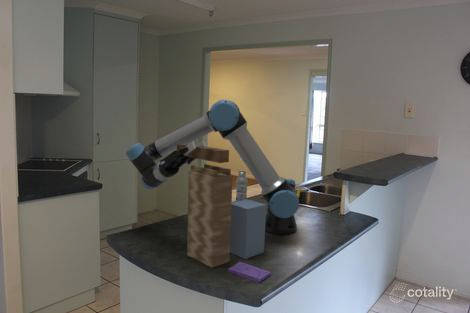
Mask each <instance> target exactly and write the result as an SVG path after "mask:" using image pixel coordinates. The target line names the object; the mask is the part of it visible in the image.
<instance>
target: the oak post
mask: <svg viewBox="0 0 470 313" xmlns="http://www.w3.org/2000/svg"><path fill="white" fill-rule="evenodd" d="M231 170H232V168H226V167H222V166H218V165H213V164H207V163H204V164H203V167H201V166H197V165H190V170H189V171H188V186H187V187H188V188H187V189H188V192H187V193H188V194H187V195H188V196H187V236H186V237H187V246H186V247H187V248H186V255H187V256H188V257H190V258H192V259H194V260H195V261H198V262H200V263H203V264H204V265H206V266H208V267H210V268H212V269H213V268H215V267H218V266H221V265H225V264H227V263H229V262H230V260H231V259H230V255H231V254H230V234H231V207H232V202H233V201H232V200H233V176H234V175H233V174H232V172H231Z"/></svg>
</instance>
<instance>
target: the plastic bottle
mask: <svg viewBox="0 0 470 313" xmlns="http://www.w3.org/2000/svg"><path fill="white" fill-rule="evenodd" d="M246 173H247V171H244V170H239V171H238V176H237V178H236V180H235V189H236V192H235V201H234V202H236V201H241V200H245V199H248V197H247V195H248V194H247V192H248V185H249V181H248V178H247V177H246V175H247V174H246Z"/></svg>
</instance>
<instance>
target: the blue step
mask: <svg viewBox="0 0 470 313" xmlns="http://www.w3.org/2000/svg"><path fill="white" fill-rule="evenodd" d="M266 214H267V203H261V202H258V201H254V200H252V199H248V198H247V199H245V200H241V201H236V202H235V201H232V207H231V234H230V253H231V254H233V255H235V256H238V257H240V258H242V259H245V260H247V259H250V258H252V257H255V256H258V255H261V254H264V252H265V241H266V240H265V238H266V237H265V236H266V231H265V220H266Z"/></svg>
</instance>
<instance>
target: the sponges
mask: <svg viewBox="0 0 470 313" xmlns="http://www.w3.org/2000/svg"><path fill="white" fill-rule="evenodd" d="M227 272H228V273H230V274H234V275H236V276H239V277H241V278H245V279H247V280H250V281H252V280H253V282H255V281H257V282H256V283H258V282H260V283H261V281H262V280H263V281H264V279H265V278H266V279H268V278H269V277H270V276H271V271H269V270H266V269H263V268H262V269H261V268H259V267H257V266H253V265H250V264H247V263H244V262H242V261H239V262H237V263H235V264H234V265H232V266H231V267H228V271H227ZM268 276H269V277H268ZM266 279H265V280H266ZM263 281H262V282H263Z"/></svg>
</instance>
